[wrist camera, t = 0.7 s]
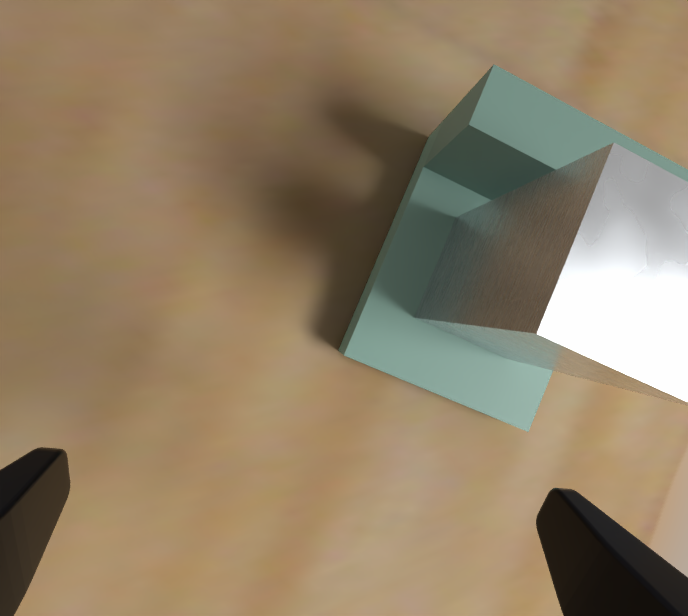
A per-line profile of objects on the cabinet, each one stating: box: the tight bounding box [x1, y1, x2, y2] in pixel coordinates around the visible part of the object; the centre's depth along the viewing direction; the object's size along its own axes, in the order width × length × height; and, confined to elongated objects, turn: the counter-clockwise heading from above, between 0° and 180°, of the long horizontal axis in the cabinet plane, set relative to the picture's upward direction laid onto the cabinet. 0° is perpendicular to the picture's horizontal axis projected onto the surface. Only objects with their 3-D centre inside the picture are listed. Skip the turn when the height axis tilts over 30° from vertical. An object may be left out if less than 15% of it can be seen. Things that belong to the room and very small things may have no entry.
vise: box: [338, 65, 688, 432], centre depth 20 cm, size 12×10×7 cm
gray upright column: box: [414, 143, 688, 405], centre depth 16 cm, size 5×5×10 cm
